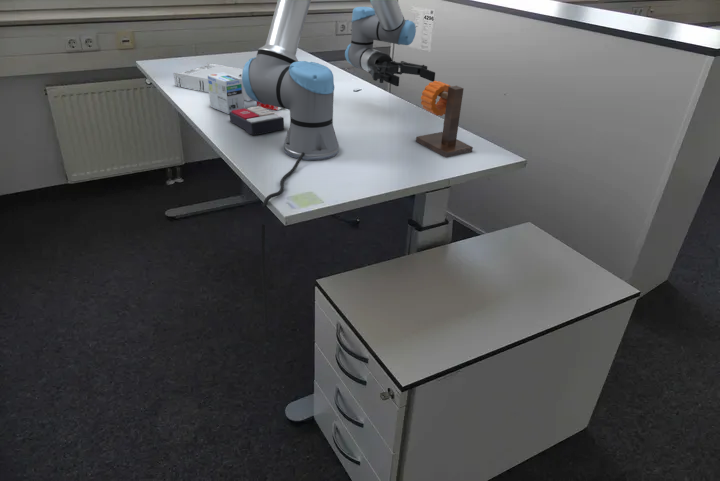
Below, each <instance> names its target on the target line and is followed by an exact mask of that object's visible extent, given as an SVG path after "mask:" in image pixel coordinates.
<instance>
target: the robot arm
mask: <svg viewBox="0 0 720 481" xmlns="http://www.w3.org/2000/svg"><path fill="white" fill-rule="evenodd" d="M369 1H370V2H369V3H370V4H371V6H372V7H370V6H356V7H354V8H353V9H352V16H351V36H350V37H351V41H350V43H349V44H348V45H347V47H346V49H345V51H344V57H345V61H346V62H347V63H348V64H350V65H351V66H353V67H355V68H357V69H360V70H363V71H365V72H367V73H368V74H369V75H371V78H372V79H373V81H374V82H375V81H376V82H377V81H379V83H380V84H384V82H386V83H388V84H390V85H393V86H394V87H399V86H400V76H398V75H403V74H405V75H413V76H419V77H420V78H422V79H425V80H428V81H430V82H433V81H436V80H435V79H436V72H435V71H433V70H429V69H428V65H425V64H417V63H411V62H406V61H404V60H401V61H400V62H398V61H396V60H393V59H392V56H391V55H389V54H388V53H386V52H383V51H380V50H378V49H374V41H378V42H384V43H387V44H388V43H389V44H395V45H398V46H400V45H401V46H410V45H411V44H412V43H413V42H414V40H415V37H416V32H417V28H416V23H415V22H414V21H412V20H409V19H405V16H404V15H403V12H402V9H401V6H400V4H399V1H398V0H369ZM311 2H312V0H277V2H276V5H275V9H274V13H273V16H272V20H271V23H270V26H269V30H268V35H267V38H266V41H265V44H264V45H263V46H261V47H259V48H258V50H257V52H256V55H255V56H254V57H251V58H250V59H248V61H246V62H245V64H244V65H243V68H242V69H243V73H242V82H243V87H244V88H245V92H246V94H247V95H248V96H249V97H250V98H251V99H253V100H252V101H255V102H257V101H258V102H260V103H263V104H268V105H272V106H276V107H280V108H282V109H284V110H289V116H290V117H289V119H290V121H289V126H288V130H287V133H286V136H285V138H284V139H285V140H284V143H283V151H284V153H286V155H288V156H289V157H292V158H293V159H294V158H295V159H297V160H296V161H295V163H294V165H293V166H292V168H291V169H290V170H289V171H288V172H287V173H285V174H284V175H283V176H282V177H281V179H280V185H279V186H280V187H279V190H278V191H276V192H272V193H270V194H268V195H267V196H266V197H265V199H264V200H263V202H262V205H261V206H262V207H267V205H268V202H269V201H270V200H271V199H273V198H275V197H279V196H281V195H282V194H283V193H284V191H285V185H284V184H285V183H284V182H285V181H286V179H287V178H289V177H290V176H291V175H292V174H293V173H294V172H295V171H296V170H297V168H298V166H299V164H300V163H301V161H302V160H304V161H322V160H327V159H330V158H333V157H335V156H337V155H338V154H339V151H340V149H339V148H340V145H339V140H338V137H337V134H336V130H335V128H334V98H335V96H334V94H335V82H334V80H335V79H334V73H333V71H332V70H331V69H330V68H329V67H327V65H324V64H322V63H319V62H315V61H306V60H299V59H298V58H297V51H298V48H299V45H300V42H301V37H302V34H303V32H304V31H303V30H304V27H305V23H306V20H307V16H308V13H309V9H310V6H311ZM260 235H261V238H260V239H261V240H260V241H261V242H260V244H261V245H260V246H261V248H260V249H261V251H260V252H261V255H260V257H261V279H262V282H261V283H262V296H263V297H262V298H263V312H264V313H263V314H264V315H263V316H264V323H265V324H267V323H269V317H268V314H269V313H268V294H267V278H266V277H267V276H266V275H267V274H266V246H265V245H266V224H264V223H263V224H261V234H260Z"/></svg>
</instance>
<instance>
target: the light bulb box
mask: <svg viewBox="0 0 720 481" xmlns="http://www.w3.org/2000/svg"><path fill="white" fill-rule="evenodd" d="M207 76H208V86H209V93H208V96H209V108H212V109H215V110H217V111H220V112H223V113H224V114H227V115H230V112H231V111H232V110H238V109H245V100H244V94H243V82H242V78H239V77H236V76H233V75H230V74H227V73H224V72H222V73H215V74H209V75H207Z"/></svg>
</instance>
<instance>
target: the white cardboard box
mask: <svg viewBox="0 0 720 481" xmlns="http://www.w3.org/2000/svg"><path fill="white" fill-rule="evenodd" d="M222 72H224V73H227V74H230V75H233V76H236V77H239V78H242V73H243V68H239V67H235V66H228V65H222V64H217V63H212V62H207V63H206V65H203V66H199V67H196V68H192V69H189V70H185V71H182V72H173V79H174V86H175V87H179V88H185V89H190V90H194V91H198V92H203V93H207V94H209V86H208V76H207V75H209V74H215V73H222ZM243 94H244V101H247V102H250V101H254V100H253V99H251V98H250V97H249V96H248V95H247V94H246V92H245V88H244V87H243Z"/></svg>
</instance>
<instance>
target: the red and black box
mask: <svg viewBox="0 0 720 481" xmlns="http://www.w3.org/2000/svg"><path fill="white" fill-rule="evenodd" d="M229 121H230V123H232V124H234V125H235V126H238V127H240V128H241V129H243V130H245V132H246V133H247V134H250V135H252V136H258V135H262V134H267V133H273V132H277V131H283V130H284V129H285V118H284V117H282V115H279V114H277V113H276V112H275V111H273V110H270V109H266V108H263V107H261V106H257V105H256V106H251V107H246V108H244V109H238V110H232V111H231V112H230V114H229Z"/></svg>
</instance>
